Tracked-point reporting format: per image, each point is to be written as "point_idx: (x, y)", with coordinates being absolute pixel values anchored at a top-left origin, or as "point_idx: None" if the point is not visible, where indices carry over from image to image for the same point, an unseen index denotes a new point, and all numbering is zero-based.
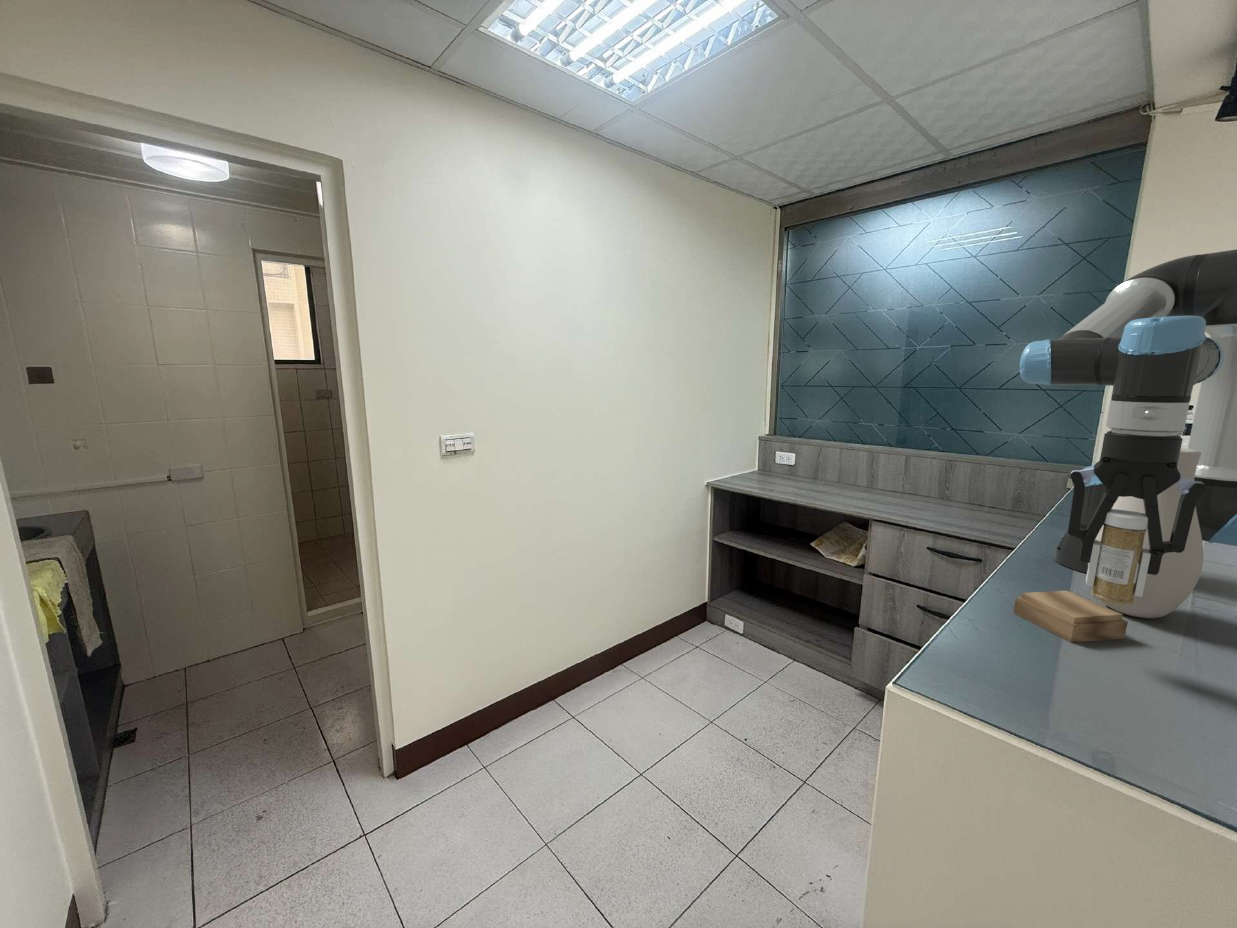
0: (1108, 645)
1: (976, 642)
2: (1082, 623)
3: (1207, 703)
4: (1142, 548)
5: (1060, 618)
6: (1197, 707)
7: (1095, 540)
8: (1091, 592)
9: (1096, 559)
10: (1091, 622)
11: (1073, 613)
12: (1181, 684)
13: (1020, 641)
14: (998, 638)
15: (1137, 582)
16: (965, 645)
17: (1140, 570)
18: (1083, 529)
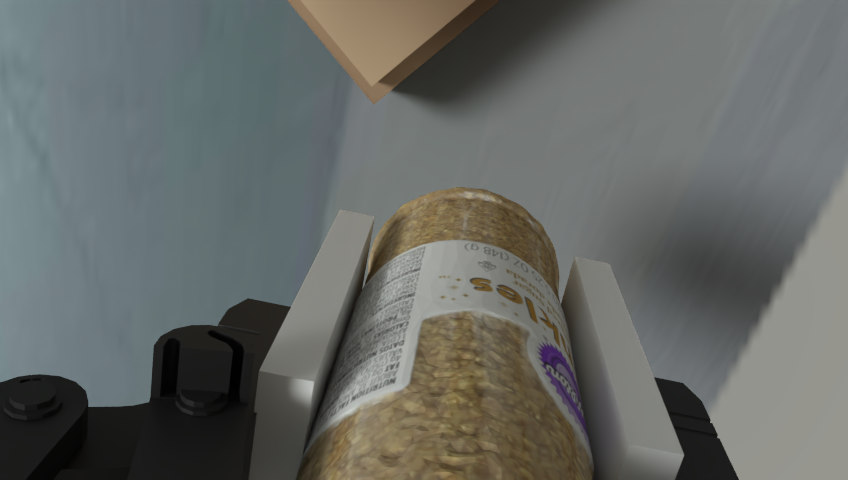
0: (531, 24)
1: (56, 297)
2: (416, 55)
3: (692, 358)
4: (626, 470)
5: (328, 45)
6: None
7: (276, 389)
8: (368, 270)
9: None
10: (461, 14)
11: (377, 23)
12: (673, 260)
13: (199, 195)
14: (124, 214)
15: None
16: (26, 343)
17: None
18: (113, 476)
